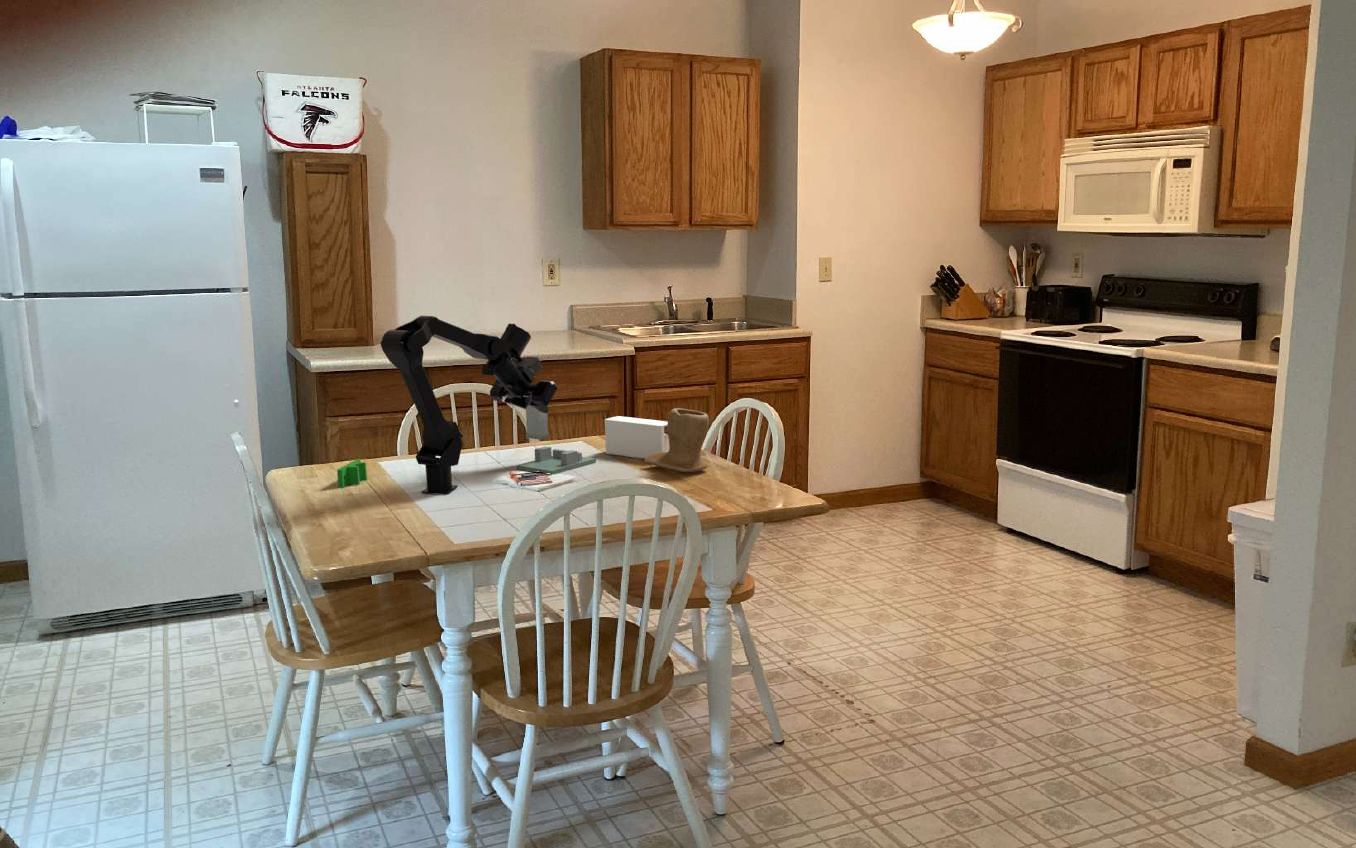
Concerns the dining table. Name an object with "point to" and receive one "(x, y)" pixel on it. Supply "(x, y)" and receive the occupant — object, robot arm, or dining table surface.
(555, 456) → the socket plate
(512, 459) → the dining table surface
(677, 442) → the fuzzy boot
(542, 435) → the bar
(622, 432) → the white rectangular box
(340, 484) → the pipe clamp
